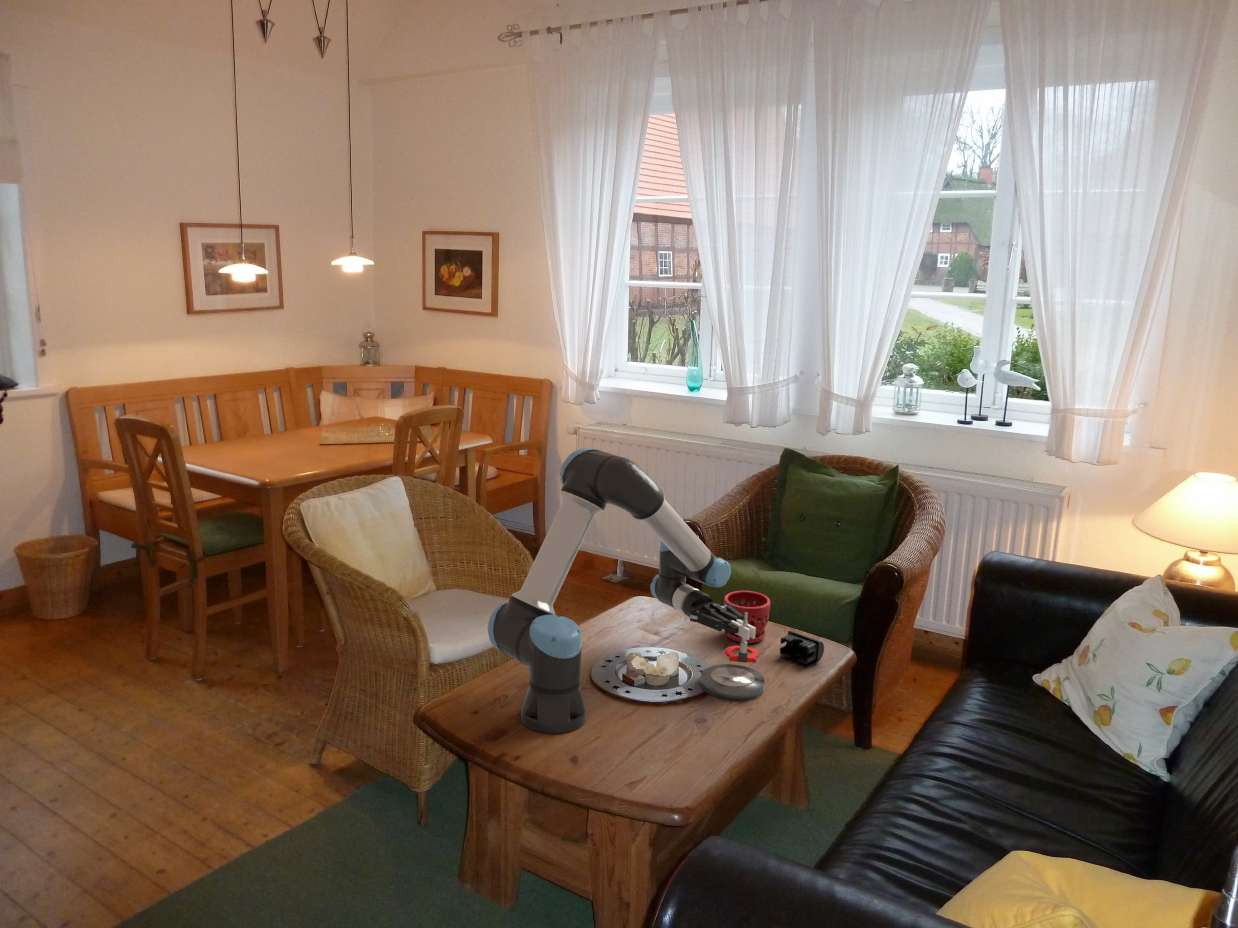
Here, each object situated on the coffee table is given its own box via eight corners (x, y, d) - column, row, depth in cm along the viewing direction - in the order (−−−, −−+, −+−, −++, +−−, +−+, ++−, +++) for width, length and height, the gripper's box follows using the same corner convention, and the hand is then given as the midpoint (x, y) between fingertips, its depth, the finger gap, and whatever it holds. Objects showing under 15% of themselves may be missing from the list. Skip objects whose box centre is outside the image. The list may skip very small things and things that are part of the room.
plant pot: (717, 628, 283) (719, 590, 280) (761, 628, 284) (764, 590, 282) (726, 646, 270) (729, 606, 267) (772, 646, 272) (776, 606, 269)
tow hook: (723, 648, 249) (725, 662, 240) (727, 600, 247) (729, 612, 238) (756, 650, 249) (759, 664, 240) (760, 602, 247) (763, 614, 238)
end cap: (823, 662, 263) (825, 638, 261) (808, 669, 258) (810, 645, 256) (792, 650, 270) (794, 627, 268) (777, 657, 265) (779, 634, 263)
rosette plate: (705, 700, 237) (705, 689, 237) (696, 672, 253) (697, 662, 252) (769, 701, 238) (770, 690, 238) (757, 673, 254) (757, 663, 253)
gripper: (713, 611, 261) (772, 642, 242) (670, 620, 254) (728, 653, 234) (714, 585, 260) (774, 614, 240) (672, 593, 252) (730, 624, 233)
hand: (751, 633), depth 237 cm, fingers closed on tow hook
